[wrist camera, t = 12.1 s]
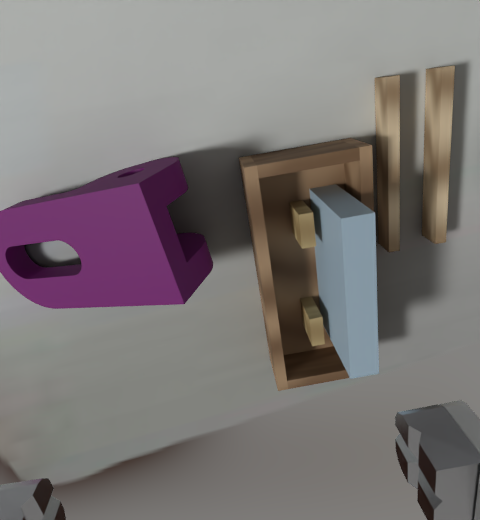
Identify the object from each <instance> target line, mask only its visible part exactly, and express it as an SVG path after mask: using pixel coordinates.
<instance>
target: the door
mask: <svg viewBox="0 0 480 520" xmlns="http://www.w3.org/2000/svg"><path fill="white" fill-rule="evenodd" d="M309 190H310V201H311V210H312V212H313V216H314V227H315V239H316V246H315V257H316V268H317V279H318V291H319V302H320V313H321V315H322V317H323V326H324V328H325V330H326V332H327V334H328V335H329V337H330V339H331V341H332V343H333V345H334V347H335V349H336V351H337V353H338V355H339V357H340V359H341V361H342V363H343V365H344V367H345V369H346V371H347V373H348V375H349V377H350V379H352V378H357V377H363V376H368V375H374V374H379V356H378V313H377V269H376V226H375V212H374V211H372V210H371V209H370V208H368V207H367V206H365V205H364V204H363V203H361V202H360V201H358V200H357V199H356V198H354V197H353V196H351V195H350V194H349V193H347V192H346V191H345V190H343V189H342V188H340V187H339V186H338V185H336V184H334V185H328V186H323V187H317V188H311V189H309Z"/></svg>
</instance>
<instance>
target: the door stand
mask: <svg viewBox="0 0 480 520" xmlns="http://www.w3.org/2000/svg"><path fill="white" fill-rule="evenodd" d="M454 72H455V66H445V67H436V68H430V69H426V94H425V133H424V173H423V213H422V235H423V236H424V237H425V238H427V239H428V240H430V241H431V242H433V243H434V244H438V243H444V242H446V229H447V209H448V189H449V170H450V150H451V131H452V111H453V91H454ZM375 113H376V159H377V206H378V243H379V244H380V245H381V246H382V247H383V248H385V249H386V250H387V251H388V252H394V251H400V75H394V76H384V77H378V78H375Z"/></svg>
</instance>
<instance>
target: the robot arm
mask: <svg viewBox="0 0 480 520" xmlns="http://www.w3.org/2000/svg"><path fill="white" fill-rule="evenodd" d="M395 425H396V427H397V429H398V431H399V433H400V434H399V435H398V436H397V438H396V439H395V443H396V453H397V457H398V461H399V464H400V467H401V469H402V472H403V474H404V476H405V478H406V480H407V482H408V483H409V484H411V485H412V486H414V487H415V488H417V489H418V500H417V501H418V503H419V505H420V507H421V509H422V510H423V513H424V515H425V516H426V518H427V520H480V419H479V418H478V417H477V415H476V414H475V413H474V412H473V410H472V409H471V408H470V407H469V406H468V405H467V403H465V402H464V401H462V400H460V401H454V402H449V403H444V404H440V405H432V406H427V407H422V408H417V409H412V410H407V411H402V412H398V413H397V414H396V417H395ZM53 489H54V487H53V486H52V484H51V482H50V480H49V479H48V478H42V479H36V480H30V481H23V482H17V483H11V484H4V485H0V520H66V517H65V511H64V507H63V506H62V503H61V501H59V500H57V499H56V498H54V497H52V496H51V495H52V492H53Z"/></svg>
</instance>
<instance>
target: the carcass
mask: <svg viewBox="0 0 480 520" xmlns="http://www.w3.org/2000/svg"><path fill="white" fill-rule="evenodd" d="M239 163H240V169H241V175H242V182H243V188H244V194H245V201H246V207H247V214H248V220H249V226H250V233H251V239H252V245H253V252H254V258H255V264H256V271H257V277H258V284H259V290H260V296H261V303H262V309H263V315H264V322H265V328H266V334H267V341H268V347H269V353H270V360H271V364H272V368H273V372H274V376H275V380H276V384H277V388H278V391H280V390H285V389H291V388H296V387H302V386H307V385H312V384H318V383H323V382H329V381H334V380H339V379H345V378H350V377H349V375H348V373H347V371H346V369H345V367H344V365H343V363H342V361H341V359H340V357H339V355H338V353H337V351H336V349H335V347H334V345H333V343H332V341H331V339H330V337H329V335H328V334H327V332H326V330H325V328H324V326H323V317H322V315H321V313H320V302H319V291H318V279H317V268H316V257H315V246H316V239H315V227H314V216H313V212H312V210H311V201H310V190H309V189H311V188H317V187H323V186H328V185H334V184H336V185H338V186H339V187H340V188H342V189H343V190H345V191H346V192H347V193H349V194H350V195H351V196H353V197H354V198H356V199H357V200H358V201H360V202H361V203H363V204H364V205H365V206H367V207H368V208H370V209H371V210H372V211H374V196H373V157H372V145H370V144H367V143H364V142H361V141H358V140H355V139H352V138H347V139H341V140H336V141H330V142H324V143H319V144H313V145H307V146H302V147H296V148H290V149H284V150H279V151H273V152H267V153H262V154H256V155H250V156H245V157H239Z"/></svg>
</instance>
